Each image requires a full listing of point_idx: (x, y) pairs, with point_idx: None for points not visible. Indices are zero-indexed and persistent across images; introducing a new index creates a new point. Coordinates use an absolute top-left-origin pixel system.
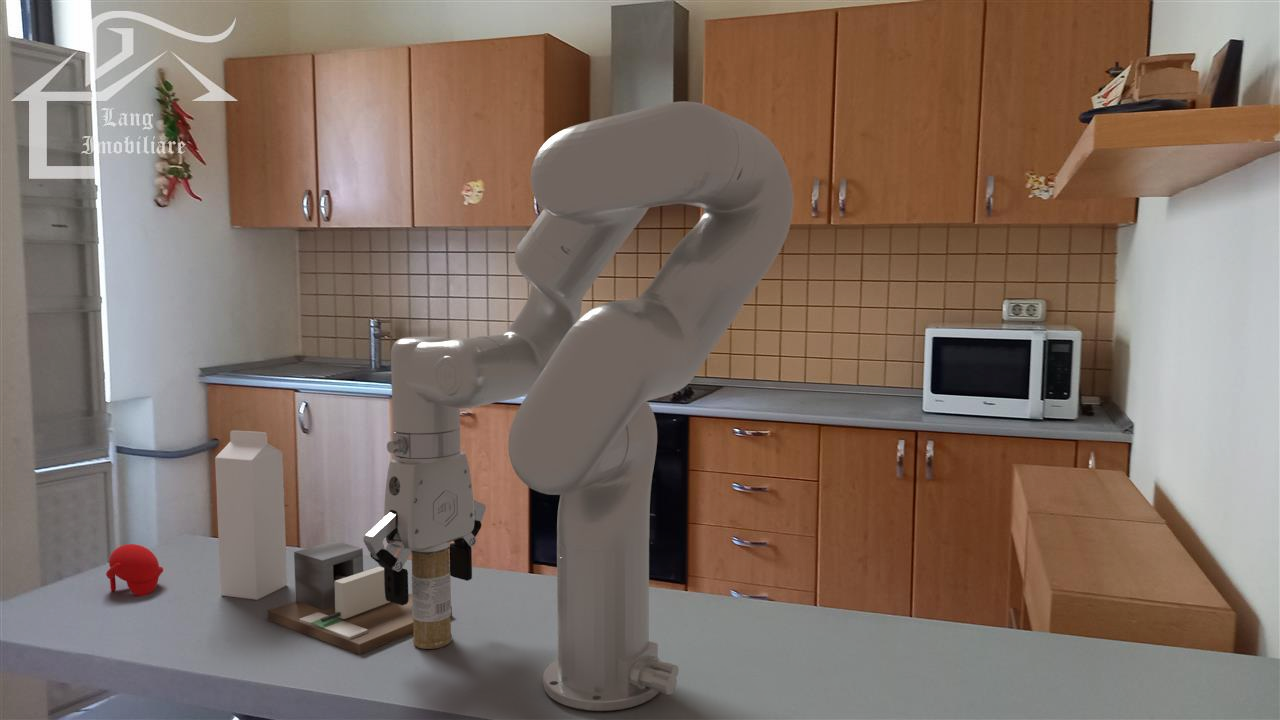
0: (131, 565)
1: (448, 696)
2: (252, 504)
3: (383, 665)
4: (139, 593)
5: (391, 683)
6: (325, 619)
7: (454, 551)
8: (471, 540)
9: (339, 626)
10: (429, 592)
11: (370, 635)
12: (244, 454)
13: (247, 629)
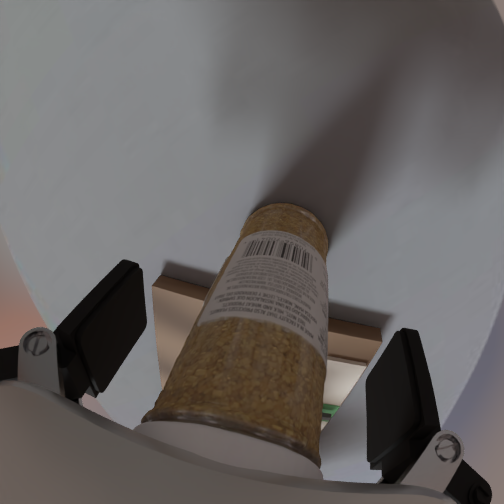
0: None
1: (488, 76)
2: None
3: (412, 269)
4: None
5: (475, 212)
6: (327, 415)
7: (103, 369)
8: (36, 348)
9: (328, 394)
10: (322, 312)
11: (340, 346)
12: None
13: (332, 447)
